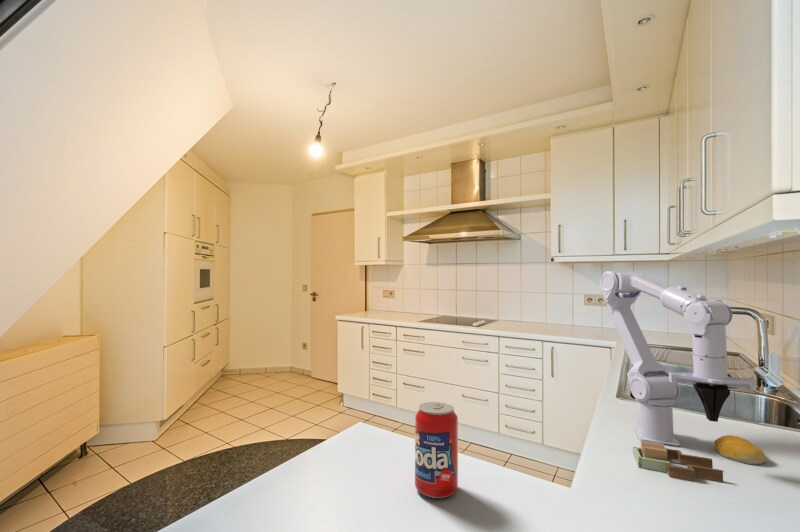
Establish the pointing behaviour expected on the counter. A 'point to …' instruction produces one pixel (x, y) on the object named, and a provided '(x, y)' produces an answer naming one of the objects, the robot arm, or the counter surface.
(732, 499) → the counter surface
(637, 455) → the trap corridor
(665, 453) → the oak block
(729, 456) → the bread roll
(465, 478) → the counter surface
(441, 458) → the soda can
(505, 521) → the counter surface
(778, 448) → the counter surface
